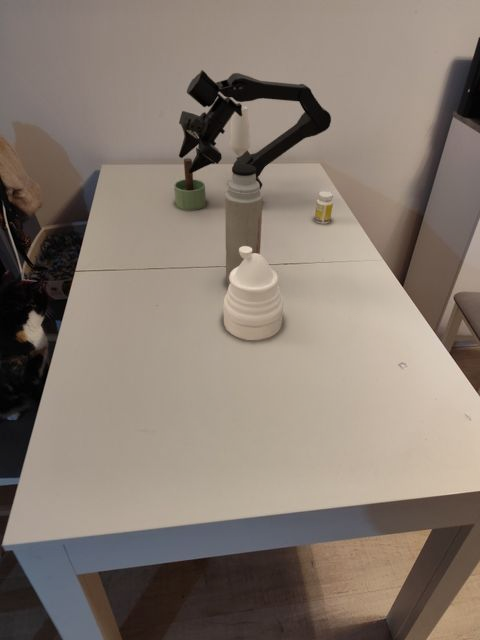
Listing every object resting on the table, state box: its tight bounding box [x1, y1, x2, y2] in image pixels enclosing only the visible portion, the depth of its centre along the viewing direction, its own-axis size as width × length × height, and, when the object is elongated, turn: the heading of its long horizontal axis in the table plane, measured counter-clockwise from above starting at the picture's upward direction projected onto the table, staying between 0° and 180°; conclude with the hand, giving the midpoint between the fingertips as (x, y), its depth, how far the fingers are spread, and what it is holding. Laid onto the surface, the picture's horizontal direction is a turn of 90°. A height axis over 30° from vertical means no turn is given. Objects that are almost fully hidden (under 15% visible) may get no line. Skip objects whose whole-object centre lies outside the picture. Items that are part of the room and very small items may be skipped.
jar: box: [173, 178, 207, 211], centre depth 139 cm, size 9×9×6 cm
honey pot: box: [222, 246, 284, 341], centre depth 92 cm, size 13×13×18 cm
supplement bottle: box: [314, 190, 334, 225], centre depth 134 cm, size 5×5×8 cm
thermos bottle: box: [224, 164, 264, 288], centre depth 100 cm, size 8×8×28 cm
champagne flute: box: [229, 105, 251, 157], centre depth 146 cm, size 7×7×24 cm
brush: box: [183, 157, 196, 191], centre depth 136 cm, size 4×4×13 cm
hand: (184, 164), depth 129 cm, fingers open, 9 cm apart
